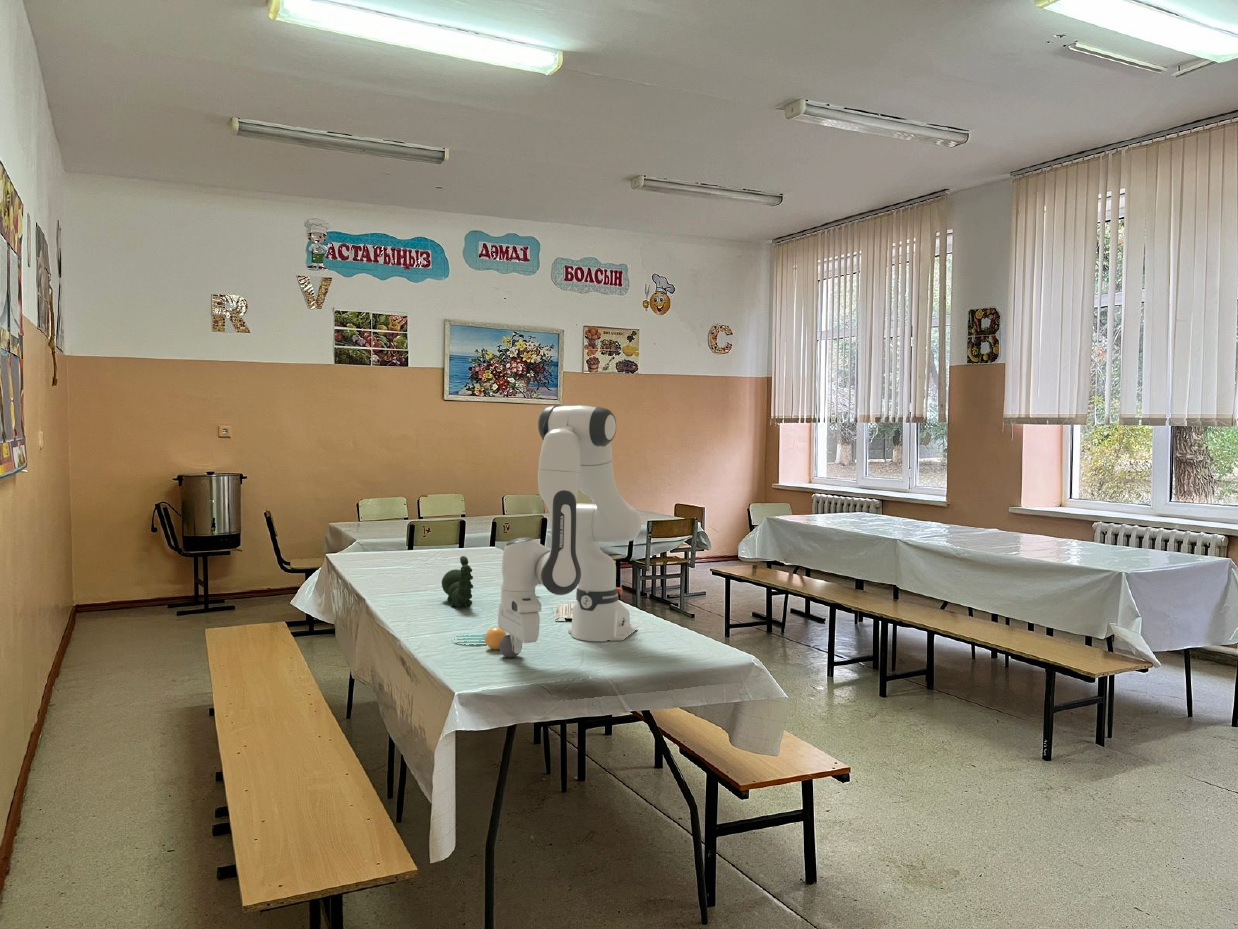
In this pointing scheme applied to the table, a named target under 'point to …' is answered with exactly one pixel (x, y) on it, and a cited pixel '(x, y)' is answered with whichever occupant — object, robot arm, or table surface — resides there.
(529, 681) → the table surface
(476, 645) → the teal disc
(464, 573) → the toy figurine
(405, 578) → the table surface
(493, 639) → the orange ball
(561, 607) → the newspaper
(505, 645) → the dark grey ball
